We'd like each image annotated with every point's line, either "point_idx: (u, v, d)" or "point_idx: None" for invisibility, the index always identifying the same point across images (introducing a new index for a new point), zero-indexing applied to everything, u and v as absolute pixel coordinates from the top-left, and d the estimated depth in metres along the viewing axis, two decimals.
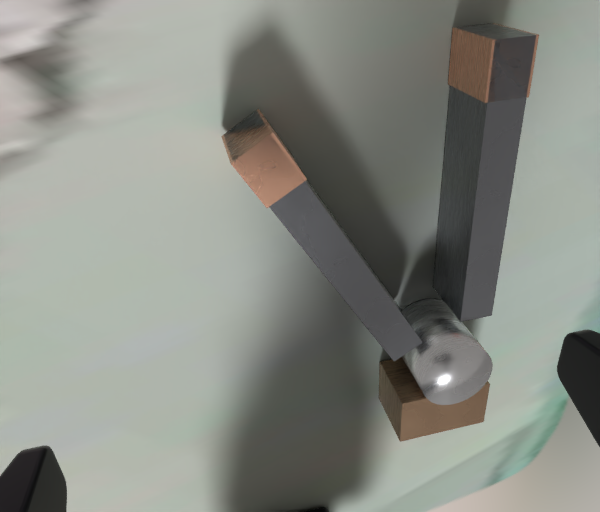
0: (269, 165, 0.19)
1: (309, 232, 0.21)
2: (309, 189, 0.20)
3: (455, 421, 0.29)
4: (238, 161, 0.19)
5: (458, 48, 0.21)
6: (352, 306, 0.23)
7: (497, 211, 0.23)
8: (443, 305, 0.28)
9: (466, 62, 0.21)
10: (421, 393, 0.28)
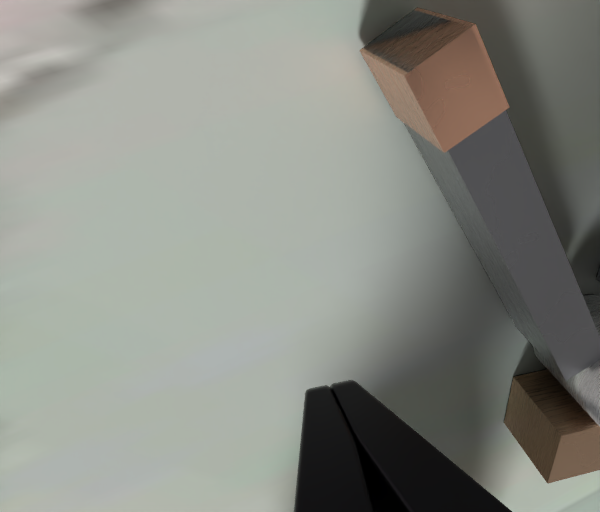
0: (460, 81, 0.12)
1: (496, 193, 0.14)
2: (509, 124, 0.13)
3: None
4: (415, 72, 0.12)
5: None
6: (530, 304, 0.16)
7: None
8: None
9: None
10: (583, 421, 0.21)
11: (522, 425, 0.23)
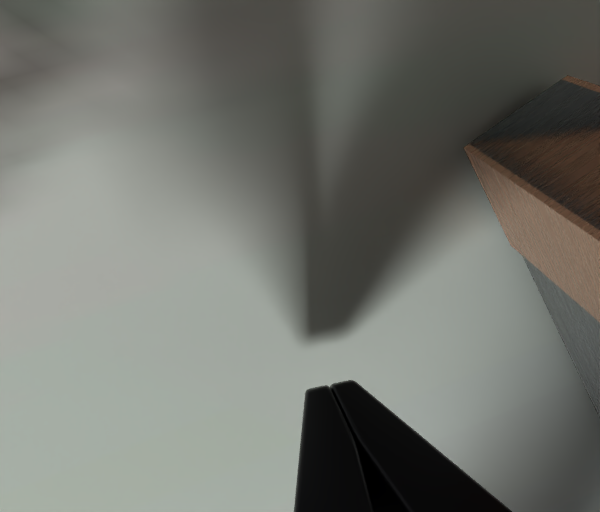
0: None
1: None
2: None
3: None
4: None
5: None
6: None
7: None
8: None
9: None
10: None
11: None
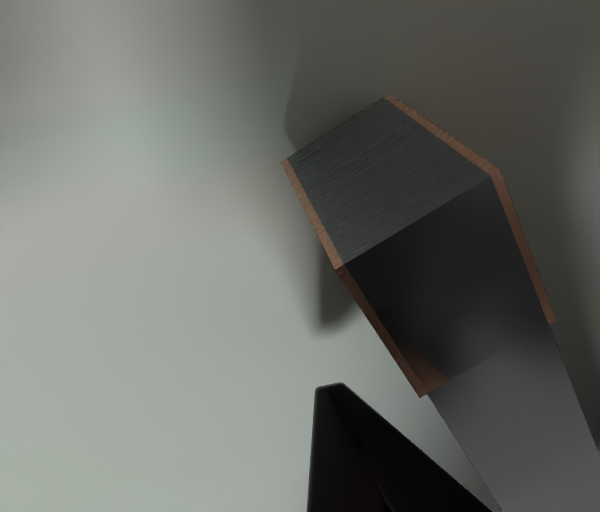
0: (459, 279, 0.06)
1: (517, 451, 0.07)
2: (553, 347, 0.06)
3: None
4: (361, 263, 0.05)
5: None
6: None
7: None
8: None
9: None
10: None
11: None
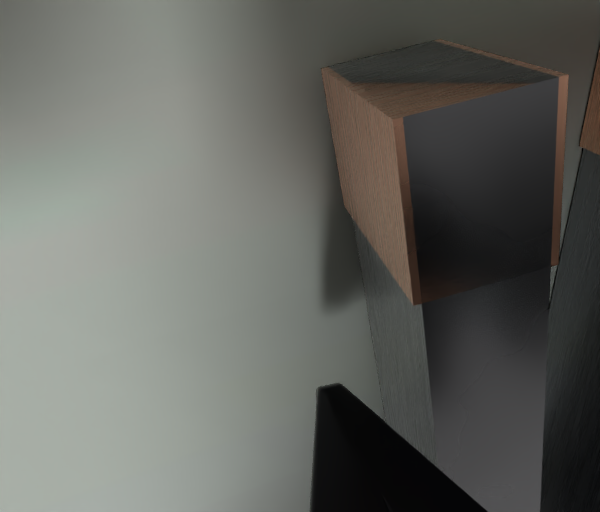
0: (495, 180, 0.06)
1: (475, 407, 0.07)
2: (545, 294, 0.07)
3: None
4: (418, 124, 0.05)
5: None
6: None
7: None
8: None
9: None
10: None
11: None
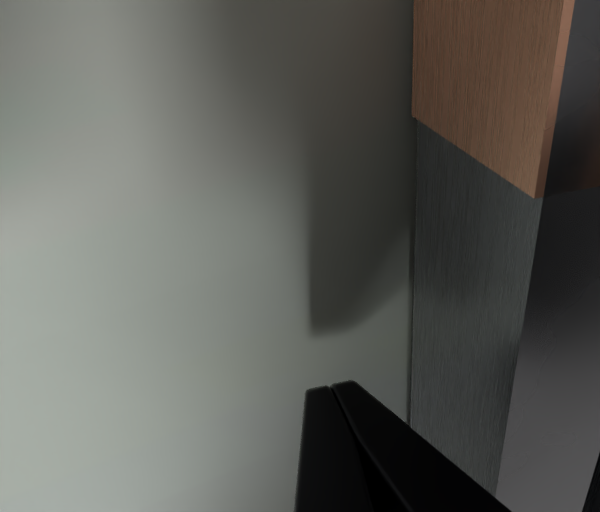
0: None
1: (565, 334, 0.06)
2: None
3: None
4: None
5: None
6: None
7: None
8: None
9: None
10: None
11: None
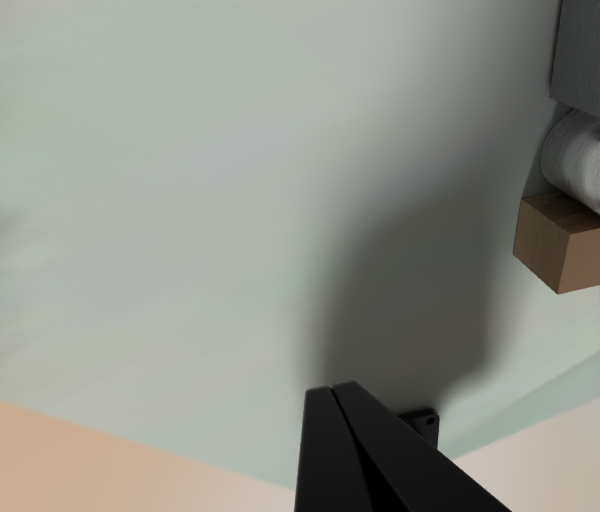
0: None
1: None
2: None
3: None
4: None
5: None
6: None
7: None
8: None
9: None
10: (591, 223, 0.21)
11: (531, 246, 0.23)
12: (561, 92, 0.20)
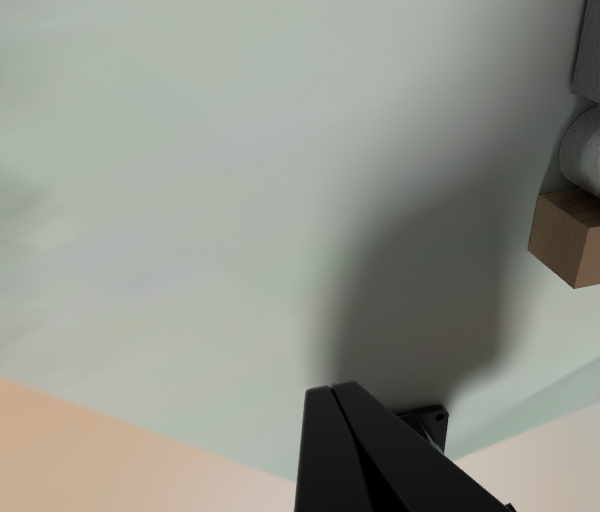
0: None
1: None
2: None
3: None
4: None
5: None
6: None
7: None
8: None
9: None
10: None
11: (547, 241, 0.23)
12: (583, 87, 0.20)
